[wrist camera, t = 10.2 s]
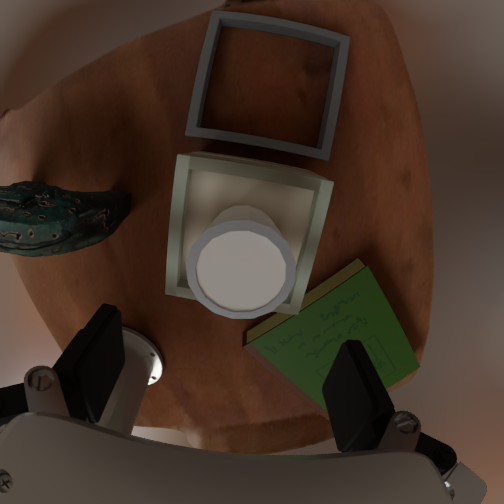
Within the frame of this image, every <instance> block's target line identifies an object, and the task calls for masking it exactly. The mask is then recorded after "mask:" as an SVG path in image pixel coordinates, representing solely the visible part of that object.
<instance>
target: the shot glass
mask: <svg viewBox="0 0 504 504" xmlns="http://www.w3.org/2000/svg"><path fill="white" fill-rule="evenodd" d="M186 271H187V278H188V285H189V286H190V288H191V290H192V291H193V293H194V295H195V296H196V298H197V299H198V301H199V302H200V303H202V304H203V305H204V306H206V307H207V308H208V309H210V310H211V311H212V312H214V313H216V314H219V315H222V316H225V317H229V318H232V319H252V318H256V317H259V316H261V315H264V314H267V313H269V312H272V311H273V310H274V309H275V308H276V307H278V306H279V305H280V304H281V303H282V302H283V301H285V300H286V299H287V297H288V295H289V293H290V291H291V289H292V287H293V285H294V283H295V274H296V261H295V258H294V256H293V254H292V251H291V249H290V247H289V244H288V242H287V241H286V239H285V238H284V237H283V235H282V234H281V232H280V231H279V229H278V228H277V227H276V225H275V224H274V222H273V221H272V220H271V218H270V217H269V216H268V215H266V214H265V213H264V212H263V211H262V210H261V209H258V208H256V207H253V206H250V205H234V206H232V207H230V208H228V209H225V210H223V211H222V212H221V213H220V214H219V215H218V216H217V217H216V218H215V220H214V221H213V222H212V223H211V224H210V225H209V226H208V228H207V229H206V230H205V231H204V232H203V233H202V234H201V236H200V237H199V238H198V239H197V240H196V241H195V243H194V244H193V245H192V246H191V250H190V253H189V256H188V259H187V263H186Z"/></svg>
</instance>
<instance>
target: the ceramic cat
mask: <svg viewBox="0 0 504 504" xmlns="http://www.w3.org/2000/svg"><path fill="white" fill-rule="evenodd" d="M130 200H131V193H128V192H124V191H111V190H109V191H106V192H78V191H68V190H64V189H61V188H59V187H57V186H50V185H46V184H45V183H36V182H31V181H23V182H19V183H13V184H11V185H10V186H0V252H5V253H11V254H18V255H22V256H28V257H40V256H52V255H59V254H63V253H68V252H73V251H76V250H80V249H82V248H85V247H89V246H91V245H94V244H96V243H99V242H101V241H103V240H104V239H106V238H107V237H109V236H110V235H112V234H113V233H114V232H115V231H116V229H117V228H118V227H119V225H120V224H121V223H122V221H123V220H124V219H125V218H126V217H127V216H128V215H129V214H130Z"/></svg>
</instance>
